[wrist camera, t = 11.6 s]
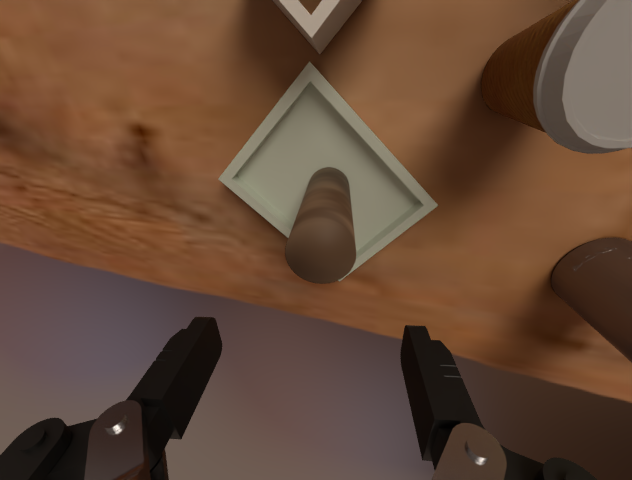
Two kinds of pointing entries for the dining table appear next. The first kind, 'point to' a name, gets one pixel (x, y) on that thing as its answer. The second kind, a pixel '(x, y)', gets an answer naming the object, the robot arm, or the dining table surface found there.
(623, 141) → the disposable coffee cup
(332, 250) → the walnut dowel
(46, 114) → the dining table surface
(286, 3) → the ceramic holder
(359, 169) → the sage tray
